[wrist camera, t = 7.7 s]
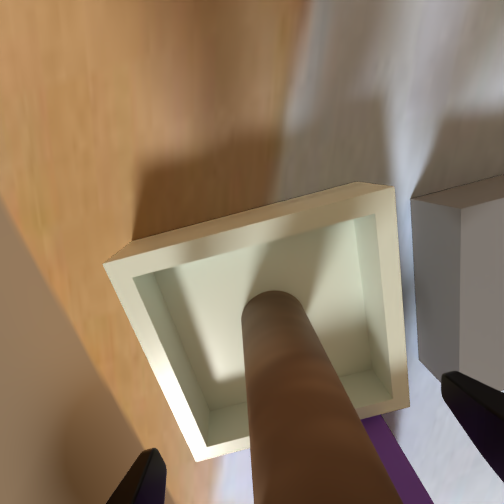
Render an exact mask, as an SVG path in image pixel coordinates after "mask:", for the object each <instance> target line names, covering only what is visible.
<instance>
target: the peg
mask: <svg viewBox="0 0 504 504" xmlns="http://www.w3.org/2000/svg"><path fill="white" fill-rule="evenodd" d="M241 325H242V339H243V354H244V368H245V382H246V396H247V410H248V424H249V438H250V452H251V466H252V480H253V494H254V504H403V502H402V500H401V498H400V496H399V494H398V492H397V490H396V488H395V486H394V484H393V482H392V480H391V479H390V477H389V475H388V473H387V471H386V469H385V467H384V465H383V463H382V461H381V459H380V457H379V455H378V453H377V451H376V449H375V447H374V445H373V443H372V441H371V439H370V437H369V436H368V434H367V432H366V430H365V428H364V426H363V424H362V422H361V420H360V418H359V416H358V414H357V412H356V410H355V408H354V406H353V404H352V402H351V400H350V398H349V396H348V395H347V393H346V391H345V389H344V387H343V385H342V383H341V381H340V379H339V377H338V375H337V373H336V371H335V369H334V367H333V365H332V363H331V361H330V359H329V357H328V355H327V354H326V352H325V350H324V348H323V346H322V344H321V342H320V340H319V338H318V336H317V334H316V332H315V330H314V328H313V326H312V324H311V322H310V320H309V318H308V316H307V314H306V313H305V311H304V309H303V307H302V305H301V303H300V302H299V300H298V299H297V298H296V297H294V296H293V295H291V294H289V293H287V292H284V291H277V290H273V291H266V292H263V293H260V294H258V295H257V296H255V297H254V298H252V299H251V300H250V301H249V302H248V303H247V305H246V306H245V308H244V310H243V312H242V316H241Z"/></svg>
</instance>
